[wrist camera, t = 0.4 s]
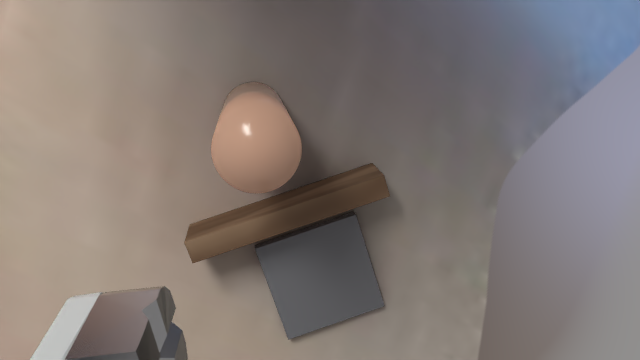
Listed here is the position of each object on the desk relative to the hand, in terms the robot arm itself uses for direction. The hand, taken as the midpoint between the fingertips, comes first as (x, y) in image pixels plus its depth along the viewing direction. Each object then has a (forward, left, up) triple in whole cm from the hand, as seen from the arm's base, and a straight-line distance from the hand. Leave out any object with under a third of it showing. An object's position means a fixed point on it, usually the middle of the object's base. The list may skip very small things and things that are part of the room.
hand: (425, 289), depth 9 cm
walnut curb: (+11, -3, -45) cm, 47 cm away
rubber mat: (+19, -2, -45) cm, 49 cm away
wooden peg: (+2, -3, -45) cm, 45 cm away
